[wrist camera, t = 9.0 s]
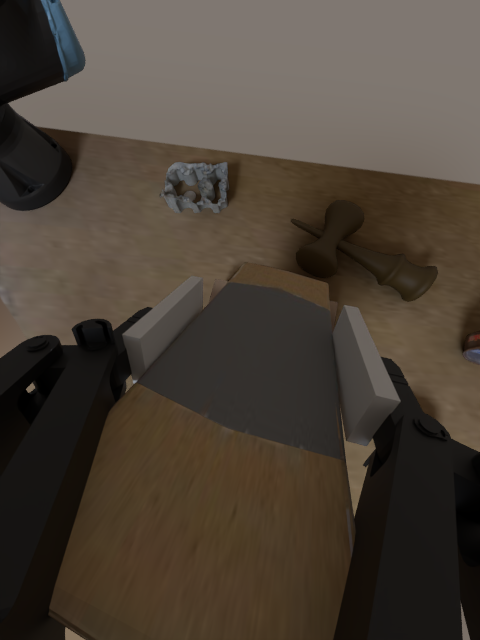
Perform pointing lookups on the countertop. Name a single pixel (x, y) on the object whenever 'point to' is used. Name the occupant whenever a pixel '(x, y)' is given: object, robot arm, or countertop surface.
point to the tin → (472, 348)
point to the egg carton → (191, 177)
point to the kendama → (359, 253)
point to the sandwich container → (220, 481)
